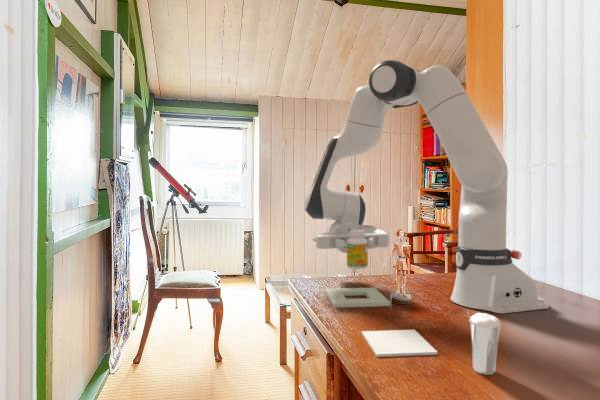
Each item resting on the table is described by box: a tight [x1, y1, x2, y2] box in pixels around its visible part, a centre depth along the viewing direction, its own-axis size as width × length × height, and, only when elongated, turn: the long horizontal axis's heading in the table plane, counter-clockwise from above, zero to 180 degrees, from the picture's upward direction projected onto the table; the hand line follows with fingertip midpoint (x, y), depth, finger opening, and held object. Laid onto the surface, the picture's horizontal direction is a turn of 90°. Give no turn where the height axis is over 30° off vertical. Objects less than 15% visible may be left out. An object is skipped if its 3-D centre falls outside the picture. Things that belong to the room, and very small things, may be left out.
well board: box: [325, 287, 391, 309], centre depth 106 cm, size 14×14×1 cm
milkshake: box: [465, 309, 501, 376], centre depth 65 cm, size 4×5×10 cm
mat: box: [361, 329, 438, 358], centre depth 76 cm, size 11×11×1 cm
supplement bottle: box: [346, 230, 369, 270], centre depth 105 cm, size 5×5×10 cm
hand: (357, 244), depth 104 cm, fingers closed on supplement bottle, 5 cm apart
